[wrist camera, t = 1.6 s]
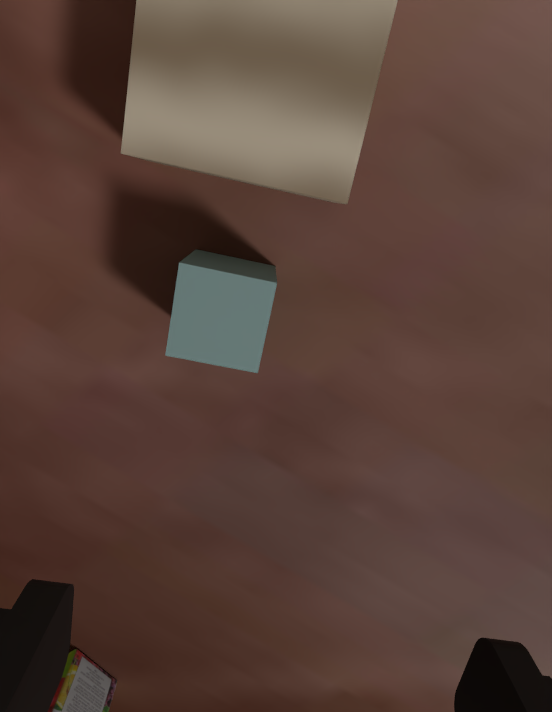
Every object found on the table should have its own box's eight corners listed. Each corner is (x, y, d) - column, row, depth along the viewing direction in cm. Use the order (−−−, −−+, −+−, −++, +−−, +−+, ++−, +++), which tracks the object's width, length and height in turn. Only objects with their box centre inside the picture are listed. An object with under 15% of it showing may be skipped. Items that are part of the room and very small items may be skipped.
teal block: (195, 249, 30) (179, 262, 24) (275, 265, 30) (276, 283, 24) (183, 325, 31) (165, 355, 26) (259, 340, 32) (257, 373, 26)
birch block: (177, -63, 25) (150, -139, 19) (381, -9, 26) (414, -66, 20) (150, 161, 28) (120, 153, 23) (331, 202, 29) (347, 204, 23)
